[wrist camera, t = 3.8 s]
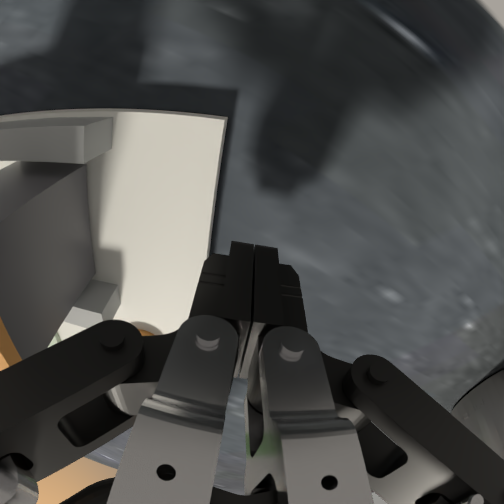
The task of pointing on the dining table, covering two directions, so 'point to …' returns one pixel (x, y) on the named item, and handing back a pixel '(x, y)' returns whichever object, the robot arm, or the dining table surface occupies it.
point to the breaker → (41, 253)
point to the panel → (133, 204)
